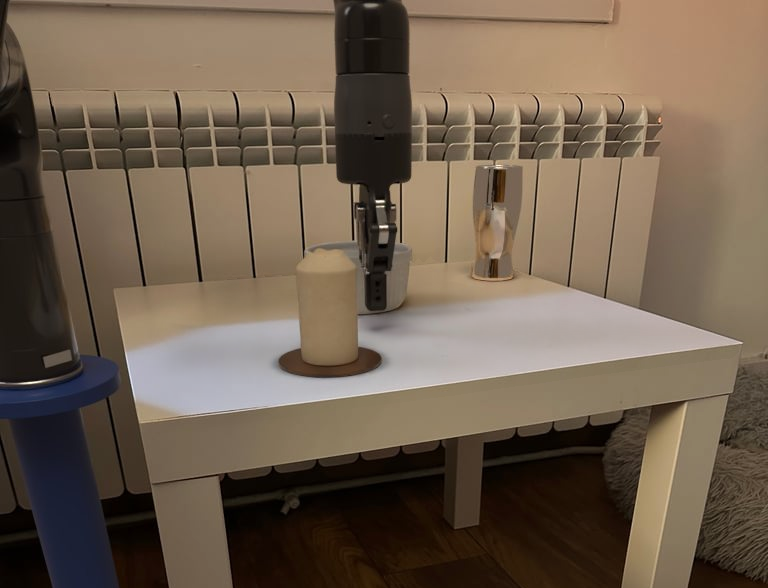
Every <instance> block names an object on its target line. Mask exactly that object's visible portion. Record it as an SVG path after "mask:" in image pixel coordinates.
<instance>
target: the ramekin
mask: <svg viewBox="0 0 768 588" xmlns="http://www.w3.org/2000/svg"><path fill="white" fill-rule="evenodd" d="M318 248H321V249H324V250H326V251H330V250H333V249H338V250H343V252H344V253H345V254H346V255H347V256H348V258H349V259H350V260H351V261H352V262H353V263H354V264H355V266H356V278H357V315H372V314H380V313H385V312H390V311H393V310H396V309H398V308H400V306H401V305H402V303H403V302H404V301H405V299H406V297H407V291H408V285H409V276H410V264H411V262H412V260H413V248H412V246H410V245H409V244H406V243H402V242H397V241H395V247H394V254H393V261H392V268H391V271H389V273H388V274H386V275H387V307H386V309H385V310H383V311H369V310H368V309H367V308H366V306H365V288H364V273H365V272H363V269H362V268H361V264H362V263H361V262H360V260H359V255H360V254H359V248H358V246H357V240H343V241H342V240H341V241H331V242H324V243H318V244H314V245H310V246H308V247H306V248H305V249H304V252H303V254H304V257H305V256H306V255H307V254H308V252H309V251H310V252H312V253H313V252H314V251H315V250H316V249H318ZM304 257H303V258H304Z"/></svg>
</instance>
